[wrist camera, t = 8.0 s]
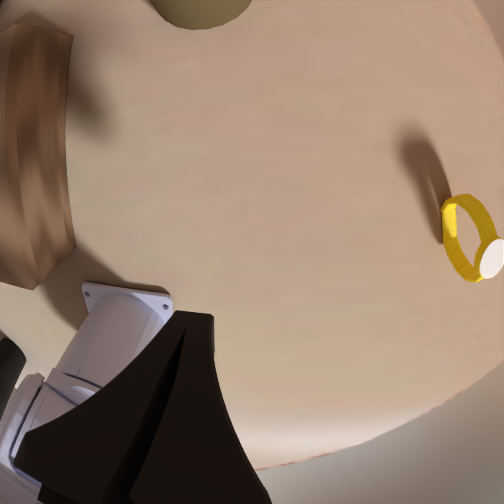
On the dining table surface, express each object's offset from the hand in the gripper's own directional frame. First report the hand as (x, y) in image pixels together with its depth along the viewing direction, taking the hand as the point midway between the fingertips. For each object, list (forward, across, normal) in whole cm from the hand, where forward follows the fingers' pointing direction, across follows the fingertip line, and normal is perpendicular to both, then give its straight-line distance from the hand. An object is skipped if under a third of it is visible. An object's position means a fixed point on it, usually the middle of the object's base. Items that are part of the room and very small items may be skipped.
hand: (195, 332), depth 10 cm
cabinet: (+9, +16, -6) cm, 19 cm away
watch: (+10, -16, -2) cm, 19 cm away
